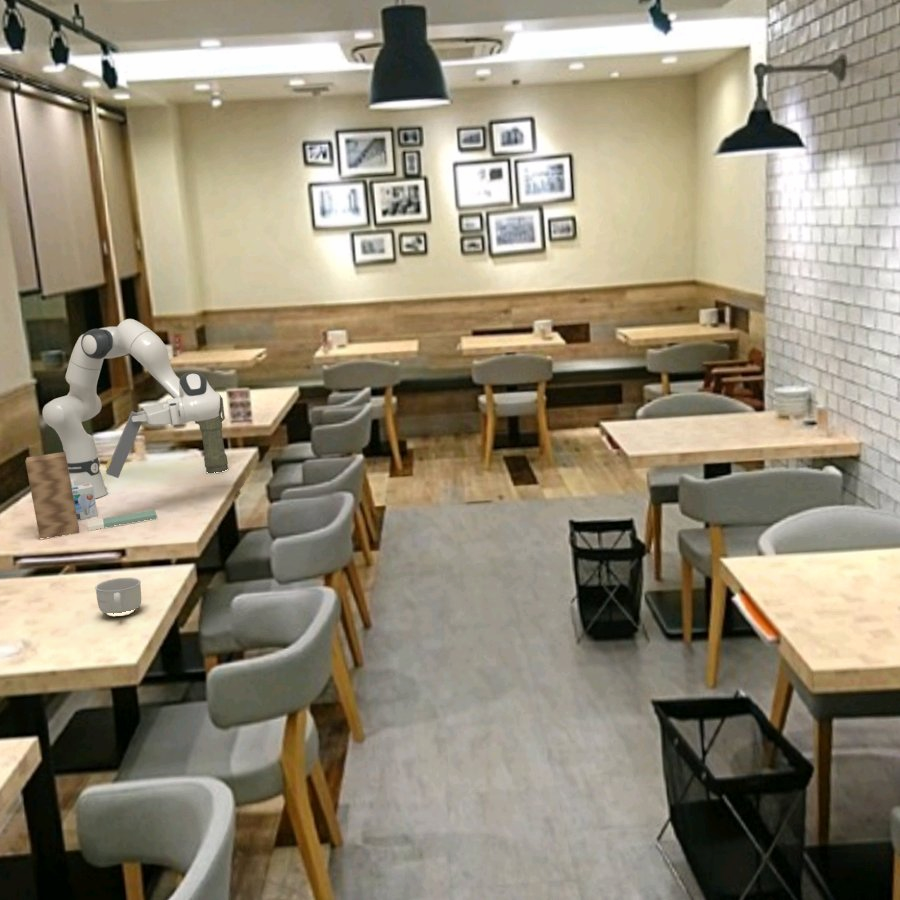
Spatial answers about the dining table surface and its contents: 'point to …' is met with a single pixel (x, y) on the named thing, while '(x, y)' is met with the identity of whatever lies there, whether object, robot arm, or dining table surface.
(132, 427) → the grey rectangular bar
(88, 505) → the light bulb box
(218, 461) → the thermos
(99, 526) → the board
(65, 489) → the brown wooden block
